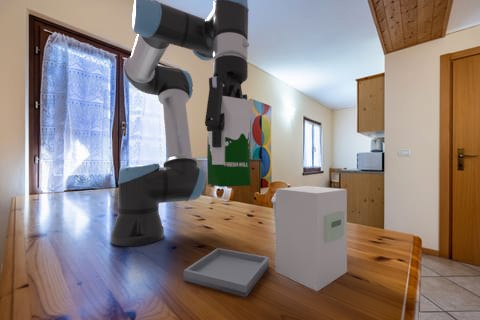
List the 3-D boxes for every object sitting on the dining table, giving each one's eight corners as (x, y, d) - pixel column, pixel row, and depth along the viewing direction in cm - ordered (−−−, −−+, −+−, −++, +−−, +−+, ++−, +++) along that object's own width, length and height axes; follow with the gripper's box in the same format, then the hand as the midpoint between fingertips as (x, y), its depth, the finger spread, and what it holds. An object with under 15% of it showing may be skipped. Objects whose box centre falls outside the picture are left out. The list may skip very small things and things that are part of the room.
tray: (183, 280, 46) (183, 270, 46) (217, 255, 58) (217, 247, 58) (245, 297, 40) (245, 285, 40) (269, 266, 52) (269, 257, 52)
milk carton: (237, 182, 55) (238, 100, 55) (257, 186, 47) (258, 90, 47) (202, 184, 51) (203, 95, 51) (217, 187, 43) (218, 82, 43)
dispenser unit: (274, 271, 50) (274, 188, 50) (305, 257, 58) (305, 185, 58) (321, 293, 41) (320, 193, 42) (350, 273, 49) (350, 189, 49)
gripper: (221, 31, 39) (220, 164, 38) (262, 76, 58) (262, 164, 58) (185, 41, 42) (184, 164, 41) (236, 80, 61) (235, 164, 61)
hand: (229, 164), depth 49 cm, fingers closed on milk carton, 9 cm apart
